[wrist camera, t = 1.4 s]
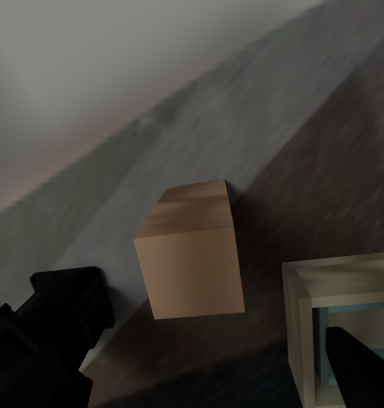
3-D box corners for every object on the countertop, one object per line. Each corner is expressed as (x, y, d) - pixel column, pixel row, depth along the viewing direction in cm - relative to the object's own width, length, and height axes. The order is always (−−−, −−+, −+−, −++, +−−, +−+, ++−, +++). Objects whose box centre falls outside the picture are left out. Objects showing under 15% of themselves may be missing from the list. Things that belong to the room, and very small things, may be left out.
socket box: (289, 362, 24) (305, 413, 20) (281, 262, 21) (299, 299, 17) (414, 355, 23) (459, 408, 19) (427, 247, 20) (485, 282, 16)
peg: (177, 239, 21) (154, 319, 13) (167, 187, 20) (133, 239, 11) (231, 232, 21) (244, 312, 12) (224, 179, 19) (233, 226, 11)
